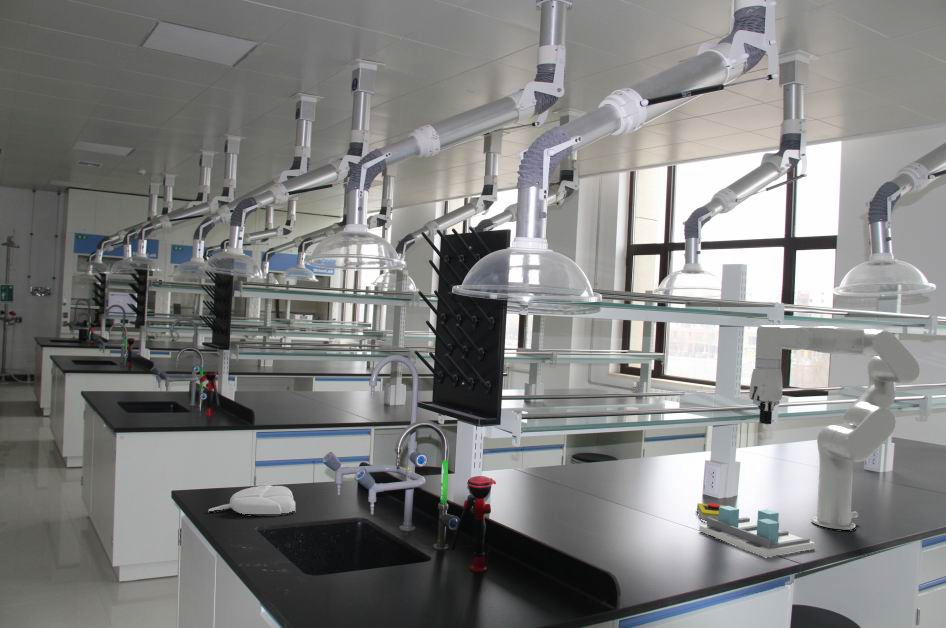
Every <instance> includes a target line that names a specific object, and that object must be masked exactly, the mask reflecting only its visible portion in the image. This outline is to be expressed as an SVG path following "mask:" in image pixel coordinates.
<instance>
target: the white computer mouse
mask: <svg viewBox="0 0 946 628" xmlns="http://www.w3.org/2000/svg"><path fill="white" fill-rule="evenodd" d="M223 509H224V510H227V509H232V510H233V511H235V513H239V514H241V513H242V515H245V514H281V513H289V512H292V511H295V512H296V501H295V500H294V496H293V492H292V491H291V490H290V489H289V488H288V487H287V486H284V485H274V486H273V485H270V484H269V485H268V484H265V485H258V486H252V487H249V488H244V489H241V490H239V491H237V492H235V493H234V494H232V495H231V497H230V499H229V503H227V504H226V503H225V504H222V505H219V506H215V507H212V508H208V510H207V511H208V512H209V511H214V510H221V511H224V510H223Z"/></svg>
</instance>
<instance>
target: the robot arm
mask: <svg viewBox="0 0 946 628" xmlns="http://www.w3.org/2000/svg"><path fill="white" fill-rule="evenodd" d="M755 338H756V341H755V342H756V343H755V361H754V362H755V363H754V365H755V366H754V368H753V370H752V374H751V378H750V384H749V395H748V396H749V399H750V400H752V405H755V406H757V408H758V409H757V410H759V424H763V425H771V424H772V420H773V419H772V418H773V415H772V413H773V411H774V408H775V407H776V406H777V405H780V401H781V400H782V399H783V387H784V386H783V373H782V356H783V355H782V353H783V350H790V351H791V350H792V351H801V350H803V351H812V352H817V353H824V354H835V355H850V356H851V355H852V356H868V357H869V356H870V357H871V358H870V360H869V361H868V364H867V374H868V385H867V388H866V389H865V391H864V392H862V394H861V395H860V396H859V397H858V398H857V399H856V400H855V401H854V402H853V403H852V404H851V405H850V406H849V407H848V408H847V409H846V410H845V412H844V414H843V416H842V419H843V420H842V421H843V423H844V425H845V426H846V427H844V426H841V425H835V424H833V425H827V426H825V427H823V428H822V429H820V431H819V432H818V435H817V441H816V443H817V450H818V457H819V459H818V461H819V465H818V466H819V469H818V471H819V472H818V484H817V485H818V486H817V487H818V489H817V490H818V492H817V507H816V508H817V510H816V515H815V516H812V517H811V519H810V520H812V521H811V523H812V522H814V523H816V524H818V525H822V526H825V527H830V528H838V529H852V528H855V527H856V523H854V522H852V520H853V519H856V518H858V517H859V512H857V511H851V510H852V497H853V496H852V493H853V491H852V490H853V479H854V478H853V477H854V476H853V475H854V474H853V473H854V471H853V465H852V462H854V463H862V462H864V461H866V460H867V459H869V458H870V457H871V456H873V454H874V453H875V452H876V451H877V450H878V449H879V448H880V447H881V446H882V445H883V444H884V443H885V442H886V441H887V440H888V439H889V438H890V436H891V435H892V434H893V432H894V431H895V428H896V422H897V421H896V418H895V415H894V414H893V412H892V411H891V410H890V408H891V407H892V406H893V404H894V402H895V400H896V399H895V398H896V394H895V392H896V391H895V384H894V383H898V384H911V383H913V382H915V381H916V380H917V379H918V378H919V376H920V373H921V372H920V370H921V369H920V365H919V363H918V362H917V361H918V360H916V358H915V357H914V355H912V353H911V352H910V351H909V350H908V349H907V347H905V345H904V344H903V343H902V342H901V341H900V339H898V338H897V337H896V336H895V335H894V334H893V333H891V332H890V331H888V330H885V329H868V328H852V327H838V326H799V325H785V324H780V325H772V324H771V325H769V324H768V325H767V324H764V325H761V324H760V325H759V326H758V327H757V328H756V337H755ZM856 528H857V527H856ZM856 528H855V529H856Z"/></svg>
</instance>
